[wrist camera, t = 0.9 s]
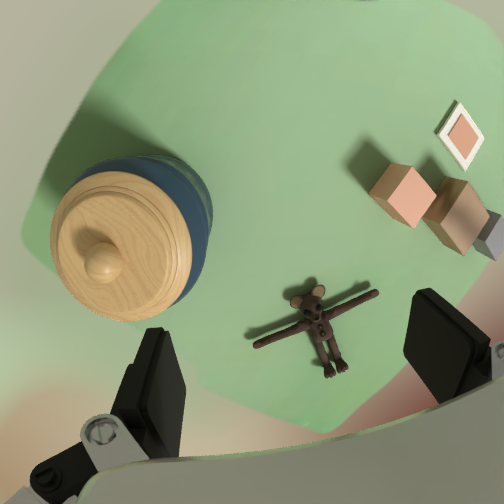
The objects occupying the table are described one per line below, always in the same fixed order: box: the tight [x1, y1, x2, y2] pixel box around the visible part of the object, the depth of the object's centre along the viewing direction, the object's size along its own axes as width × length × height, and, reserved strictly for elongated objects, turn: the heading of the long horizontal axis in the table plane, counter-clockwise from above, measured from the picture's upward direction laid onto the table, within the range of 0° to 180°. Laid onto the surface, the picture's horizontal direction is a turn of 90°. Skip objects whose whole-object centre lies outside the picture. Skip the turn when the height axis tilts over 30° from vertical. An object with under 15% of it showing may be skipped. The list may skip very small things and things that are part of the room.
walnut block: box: [422, 177, 490, 256], centre depth 34 cm, size 7×7×5 cm
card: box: [436, 102, 485, 171], centre depth 32 cm, size 7×7×1 cm
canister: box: [50, 155, 213, 321], centre depth 25 cm, size 13×13×18 cm
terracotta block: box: [368, 163, 437, 228], centre depth 32 cm, size 5×5×5 cm
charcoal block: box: [473, 210, 504, 261], centre depth 35 cm, size 5×5×5 cm
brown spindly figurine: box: [253, 285, 379, 378], centre depth 39 cm, size 18×4×14 cm
